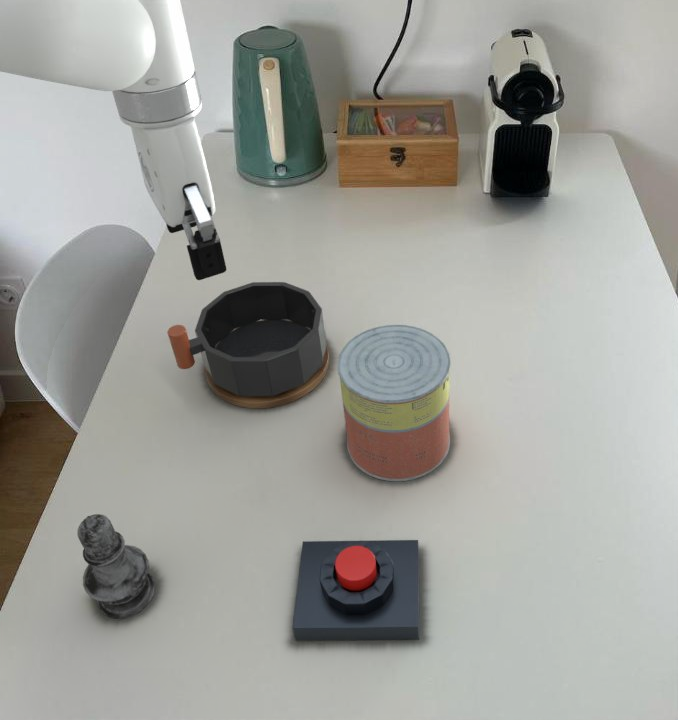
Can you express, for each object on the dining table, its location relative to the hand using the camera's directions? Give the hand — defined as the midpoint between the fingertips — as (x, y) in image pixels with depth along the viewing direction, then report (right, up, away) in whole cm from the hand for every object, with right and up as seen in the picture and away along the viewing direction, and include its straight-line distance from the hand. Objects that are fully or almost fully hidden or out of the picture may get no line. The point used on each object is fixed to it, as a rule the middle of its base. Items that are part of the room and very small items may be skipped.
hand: (196, 250), depth 85 cm
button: (+18, -31, -12) cm, 37 cm away
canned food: (+21, -21, +4) cm, 30 cm away
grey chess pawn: (-4, -34, -9) cm, 35 cm away
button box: (+18, -33, -10) cm, 39 cm away
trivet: (+5, -12, +14) cm, 19 cm away
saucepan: (+4, -12, +13) cm, 18 cm away
